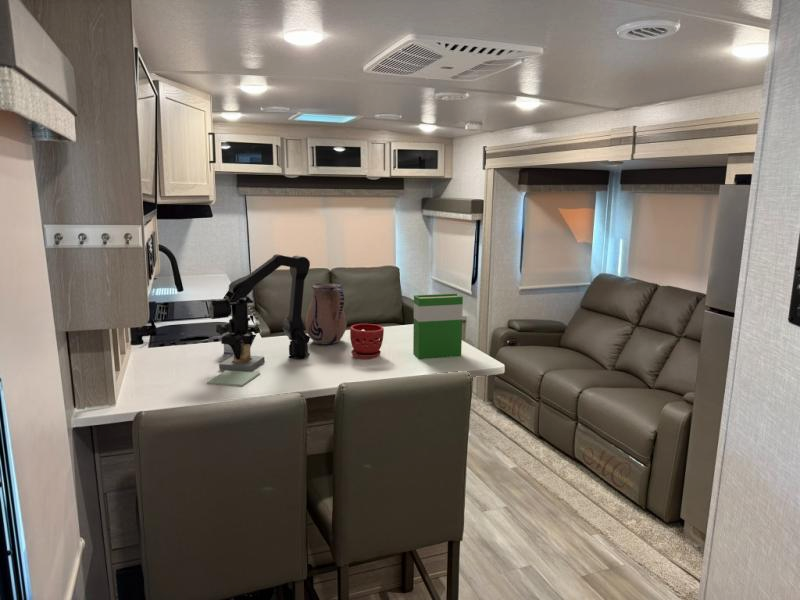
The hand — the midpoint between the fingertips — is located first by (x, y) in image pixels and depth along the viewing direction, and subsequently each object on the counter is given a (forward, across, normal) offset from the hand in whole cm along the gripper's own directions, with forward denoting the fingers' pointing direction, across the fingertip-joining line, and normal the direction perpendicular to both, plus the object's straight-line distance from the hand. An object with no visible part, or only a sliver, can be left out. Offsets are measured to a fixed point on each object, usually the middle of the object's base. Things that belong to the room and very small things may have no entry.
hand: (242, 356), depth 202 cm
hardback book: (+4, -29, +69) cm, 75 cm away
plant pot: (+4, -22, +42) cm, 48 cm away
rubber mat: (+4, +14, +4) cm, 15 cm away
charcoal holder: (+4, 0, 0) cm, 4 cm away
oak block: (+4, 0, 0) cm, 4 cm away
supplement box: (+4, -16, -12) cm, 20 cm away
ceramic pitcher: (+4, -38, +21) cm, 44 cm away
